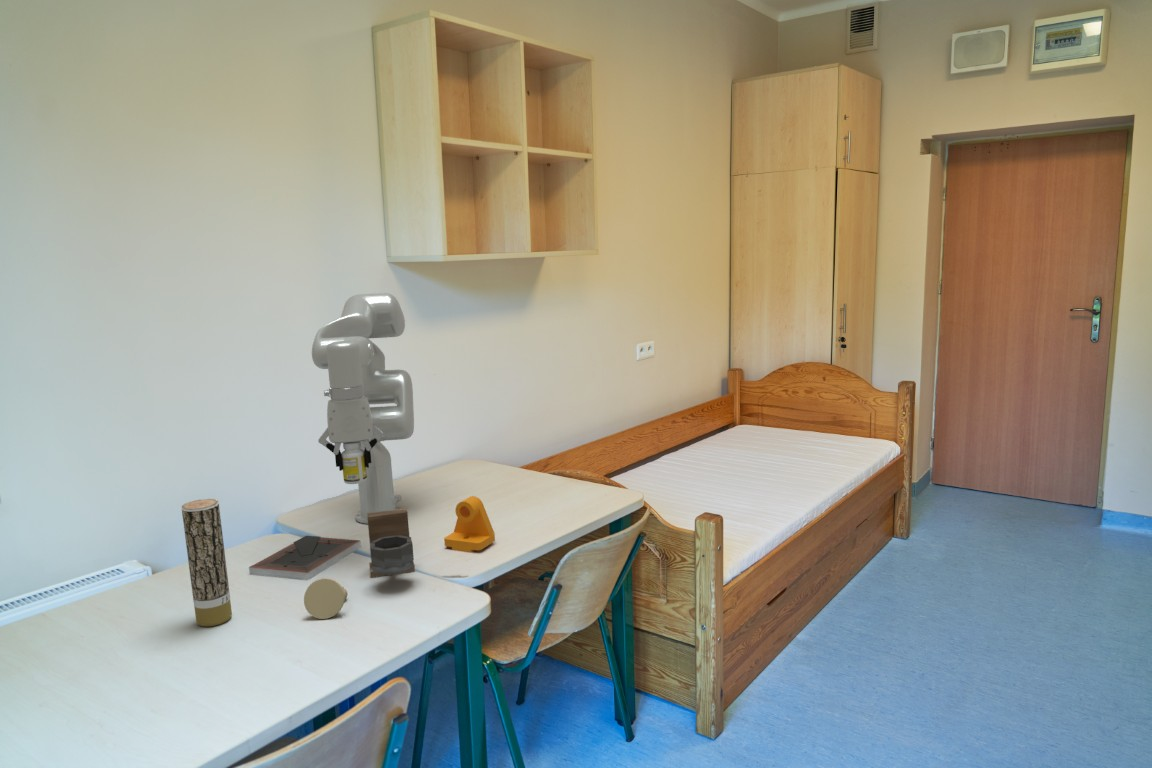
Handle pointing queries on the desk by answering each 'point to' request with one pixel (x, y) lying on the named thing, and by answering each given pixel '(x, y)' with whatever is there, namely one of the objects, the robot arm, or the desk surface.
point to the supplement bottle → (353, 463)
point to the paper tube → (207, 562)
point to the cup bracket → (390, 543)
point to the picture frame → (305, 557)
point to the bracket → (471, 527)
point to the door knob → (324, 598)
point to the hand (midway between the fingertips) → (354, 467)
